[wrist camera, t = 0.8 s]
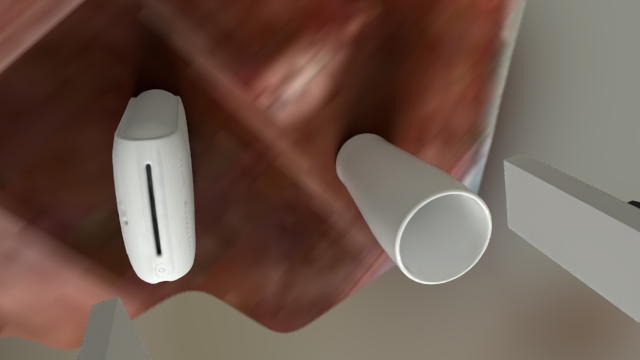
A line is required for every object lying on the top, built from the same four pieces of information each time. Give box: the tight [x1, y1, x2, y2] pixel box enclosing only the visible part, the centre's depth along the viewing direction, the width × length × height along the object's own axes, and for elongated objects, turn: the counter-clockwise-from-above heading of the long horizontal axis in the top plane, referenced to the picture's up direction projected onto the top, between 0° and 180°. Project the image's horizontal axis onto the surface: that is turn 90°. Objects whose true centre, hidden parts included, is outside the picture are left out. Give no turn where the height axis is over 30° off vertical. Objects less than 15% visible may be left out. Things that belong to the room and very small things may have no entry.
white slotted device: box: [113, 89, 195, 283], centre depth 32 cm, size 10×4×12 cm, turn 179°
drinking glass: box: [336, 133, 492, 284], centre depth 35 cm, size 7×7×15 cm
